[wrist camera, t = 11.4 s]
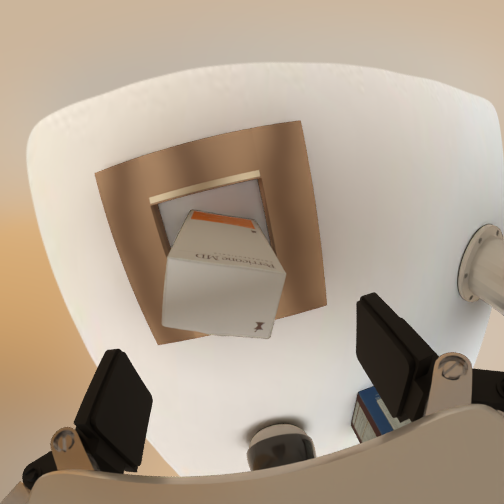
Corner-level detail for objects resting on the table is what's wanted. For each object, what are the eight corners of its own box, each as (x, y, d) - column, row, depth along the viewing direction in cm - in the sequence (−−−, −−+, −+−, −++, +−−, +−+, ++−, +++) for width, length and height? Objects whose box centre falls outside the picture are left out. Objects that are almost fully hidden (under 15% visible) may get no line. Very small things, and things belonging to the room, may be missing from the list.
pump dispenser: (251, 414, 34) (269, 507, 20) (316, 414, 36) (347, 493, 22) (236, 446, 37) (247, 523, 23) (293, 446, 39) (314, 515, 25)
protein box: (418, 395, 40) (456, 448, 26) (349, 424, 39) (381, 491, 25) (432, 358, 37) (482, 416, 22) (356, 391, 35) (399, 469, 21)
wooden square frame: (292, 123, 22) (300, 120, 20) (318, 293, 28) (327, 305, 26) (105, 171, 21) (94, 173, 19) (161, 330, 27) (157, 345, 25)
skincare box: (256, 218, 24) (291, 273, 13) (247, 262, 26) (271, 342, 15) (188, 207, 23) (165, 255, 12) (182, 253, 25) (160, 330, 13)
